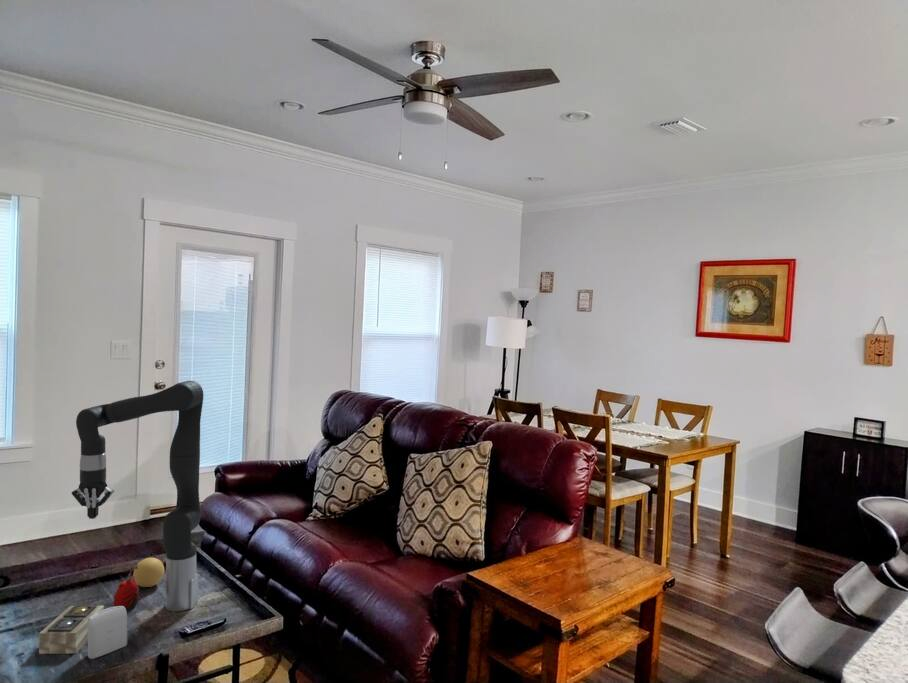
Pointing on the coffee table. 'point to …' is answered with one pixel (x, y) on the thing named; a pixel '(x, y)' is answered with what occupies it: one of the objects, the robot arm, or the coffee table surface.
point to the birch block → (67, 632)
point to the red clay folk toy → (127, 593)
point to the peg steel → (65, 624)
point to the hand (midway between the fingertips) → (92, 517)
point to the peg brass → (80, 610)
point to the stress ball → (148, 572)
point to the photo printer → (107, 631)
